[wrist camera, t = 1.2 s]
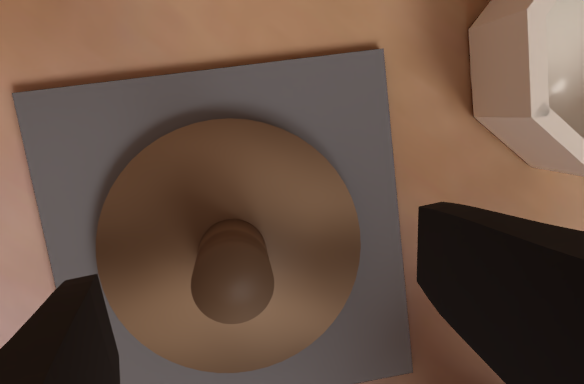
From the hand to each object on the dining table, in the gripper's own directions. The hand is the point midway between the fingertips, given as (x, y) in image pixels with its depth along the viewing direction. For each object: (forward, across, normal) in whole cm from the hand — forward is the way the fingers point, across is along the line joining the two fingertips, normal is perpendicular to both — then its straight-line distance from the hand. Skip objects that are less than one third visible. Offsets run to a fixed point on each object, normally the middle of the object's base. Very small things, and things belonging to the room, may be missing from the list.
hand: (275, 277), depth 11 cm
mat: (+10, 0, +4) cm, 11 cm away
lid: (+10, 0, +4) cm, 10 cm away
